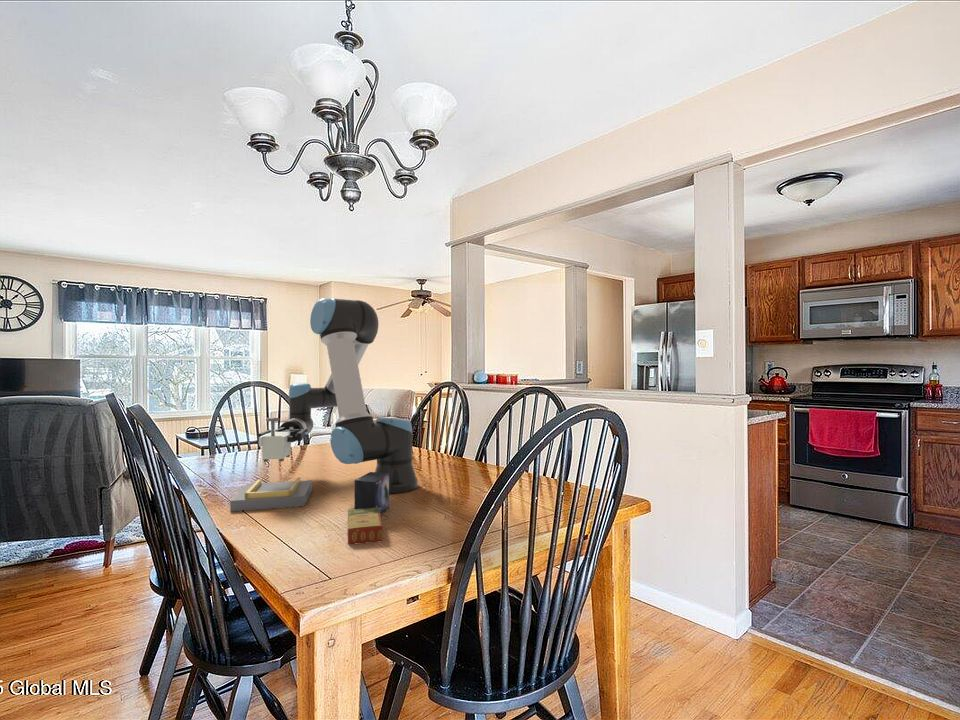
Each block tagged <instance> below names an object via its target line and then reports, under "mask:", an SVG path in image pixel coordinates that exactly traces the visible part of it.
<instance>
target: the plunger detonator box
mask: <svg viewBox="0 0 960 720" xmlns="http://www.w3.org/2000/svg"><path fill="white" fill-rule="evenodd" d="M265 420H266V422H270V430H271V432H270V433H268V434H266V435H264V436H262V446H261V450H262V451H261V453H262V454H261V455H262V456H261V458H262V460H263V462H265V463H267V462H268V461H269V460H279V462H284V460H285V458H290V456H291V454H292V443H291V442H290V443H288V444H286V445H285V446H282V436H284V435H286V434H290V433H291V432H275V430H276V429H275V424H276V423H275V422H279V421H280V418H279V417H266V419H265Z"/></svg>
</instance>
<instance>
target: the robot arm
mask: <svg viewBox="0 0 960 720" xmlns="http://www.w3.org/2000/svg"><path fill="white" fill-rule="evenodd" d="M309 319H310V321H309V323H310V329H311V331H312V332H313V333H314V334H316V335H319V336H320V337H319V338H320V342H321V343H322V344H324V346H326V350H327V355H328V362H329V365H330V366H329V367H330V372H331V373H330V375H329V376H328V377H329V378H328V380H327V381H326V384H325V386H324V387H311V383H306V382H305V383H292V384H290V385H289V389H288V390H289V391H288V405H289V406H288V407H289V409H288V410H289V415H288V419H289V420H286V421H284V422H283V423H281V424H280V426H279V428H277V429H275V432H291V433H290V434H286V435H284V436H282V446H285V445H286V444H288V443H290V442H291V444H293V443H295V442H301V441H303V440H304V439H305V438H307V437H309V434H310V432H311V431H312V430H313V428H314V421H313V419H312V414H311V413H312V409H318V408H319V409H320V408H336V407H337V412H338V418H337V420H336V422H335V428H333V430H332V431H331V434H330V439H329V440H330V447H331V450H332V453H333V454H334V456H335V458H336V459H337V460H338V461H339V462H340V463H342V464H345V465H352V464H353V465H354V464H355V465H358V464H360V463H364V462H370V461H376V467H375V471H374V472H378V473H389V494H401V493H407V492H410V491H413V490H416V489H417V488H418V487H419V483H418V482H419V480H418V477H417V475H416V472H415V468H414V465H413V434H414V433H413V427H412V422H411V421H410V420H409V419H405V418H395V417H377V418H376V420H375V422H374V418H373V415H372V414H370V413H368V412H367V407H366V401H365V395H364V390H363V385H362V379H361V375H360V368H359V365H360V363H361V361H362V360H363V359H362V358H363V356H364V354H365V353H366V350H367V348H368V347H369V345H372V344H373V343H374V341H375V339H376V337H377V334H378V331H379V317H378V315H377V312H376V310H375V309H374V307H373V306H372V305H371V304H369V303H368V302H366V301H363V300H359V299H356V300H355V299H345V298H344V299H342V298H334V297H330V298H326V297H324V298H320V299H318V300H316V302H315V303H314V305H313V307H312V309H311V313H310V318H309ZM270 432H271V429H266V430H265V431H263V432H260V433H257V442H258V447H262V436H264V435H266V434H268V433H270Z"/></svg>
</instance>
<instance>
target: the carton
mask: <svg viewBox="0 0 960 720" xmlns="http://www.w3.org/2000/svg"><path fill="white" fill-rule="evenodd" d="M383 528H384V526H383V521H382V514H381V515H380V510H379V507H376V508H365V509H348V510H347V531H346V533H347V545H348V544H351V545H356V544H355V543H362V544H367V543H366V542H372V543H378V542H377V541H382V540H384V539H383V532H384V531H383V530H384V529H383ZM382 542H383V541H382Z"/></svg>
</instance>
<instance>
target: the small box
mask: <svg viewBox="0 0 960 720" xmlns="http://www.w3.org/2000/svg"><path fill="white" fill-rule="evenodd" d="M353 495H354V509H365V508H376V507H379V510H380V515H381V516H382V513H383V512H384V513H385V512H386V510H387V509H388V510H390V493H389V473H378V472H375V471H374V472H373V471H369V472H367V473H366V474H364V475H362V476H360V477H358V478H356V479H354V494H353ZM354 509H353V510H354ZM388 510H387V511H388ZM384 513H383V514H384Z"/></svg>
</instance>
